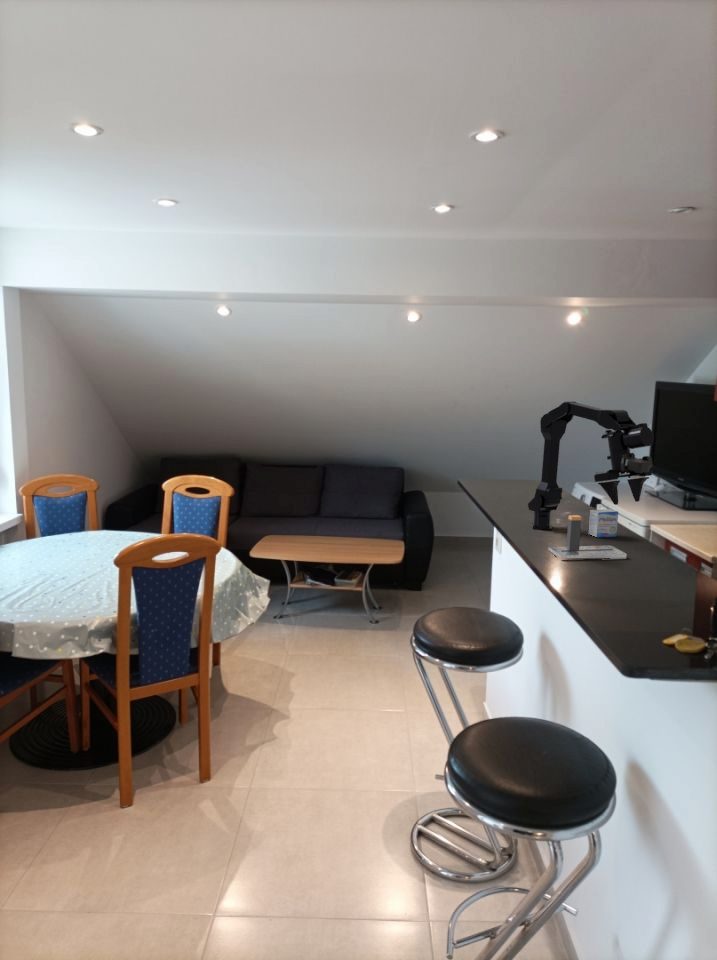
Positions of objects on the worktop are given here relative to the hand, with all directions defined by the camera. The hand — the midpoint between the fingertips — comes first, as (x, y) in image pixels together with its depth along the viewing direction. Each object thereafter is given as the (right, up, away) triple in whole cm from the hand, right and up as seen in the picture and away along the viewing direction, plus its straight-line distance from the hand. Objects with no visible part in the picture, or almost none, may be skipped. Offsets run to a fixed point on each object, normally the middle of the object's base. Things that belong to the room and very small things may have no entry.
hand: (626, 503), depth 193 cm
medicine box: (+1, -12, +22) cm, 25 cm away
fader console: (-12, -16, 0) cm, 20 cm away
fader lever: (-17, -14, -1) cm, 22 cm away
